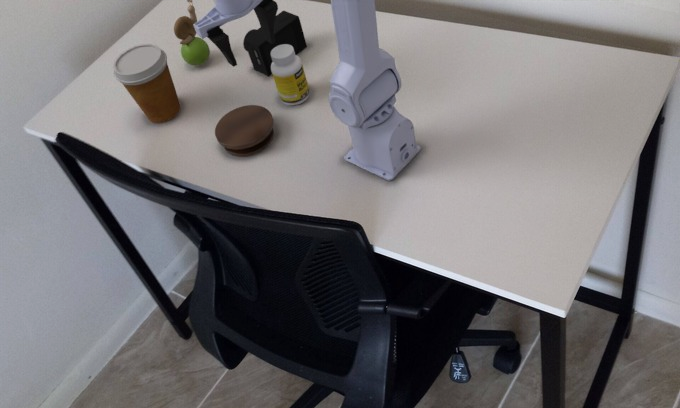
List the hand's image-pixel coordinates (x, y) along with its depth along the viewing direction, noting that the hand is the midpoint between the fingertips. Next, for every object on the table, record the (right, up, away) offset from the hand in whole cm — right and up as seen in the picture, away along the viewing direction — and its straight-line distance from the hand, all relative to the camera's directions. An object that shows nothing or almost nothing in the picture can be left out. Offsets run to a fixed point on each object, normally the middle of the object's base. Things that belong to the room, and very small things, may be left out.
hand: (251, 52), depth 113 cm
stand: (-1, -14, +1) cm, 14 cm away
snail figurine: (-12, +2, +20) cm, 23 cm away
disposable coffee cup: (-17, -9, +11) cm, 22 cm away
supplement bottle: (+7, -7, +6) cm, 12 cm away
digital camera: (+3, +2, +15) cm, 16 cm away
